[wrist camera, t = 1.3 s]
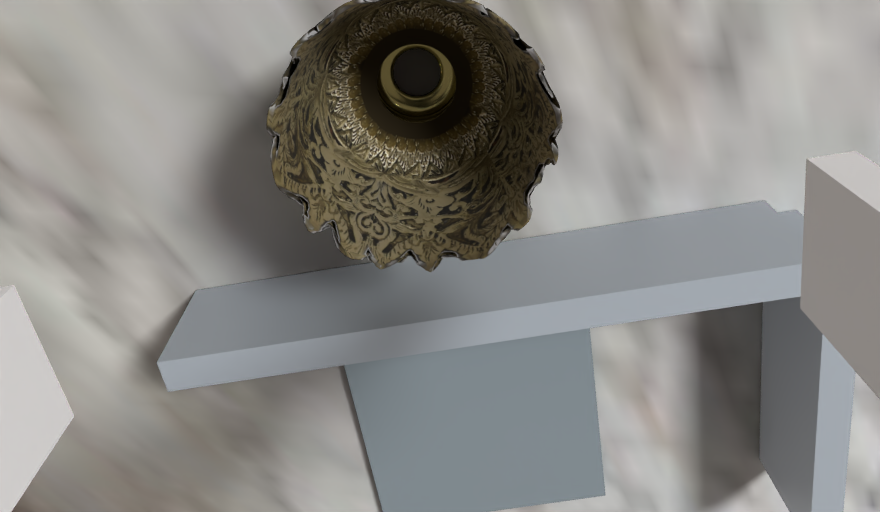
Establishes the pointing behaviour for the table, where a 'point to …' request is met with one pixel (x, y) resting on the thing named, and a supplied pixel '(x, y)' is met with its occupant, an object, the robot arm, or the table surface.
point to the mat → (482, 425)
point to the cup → (413, 131)
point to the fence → (554, 319)
